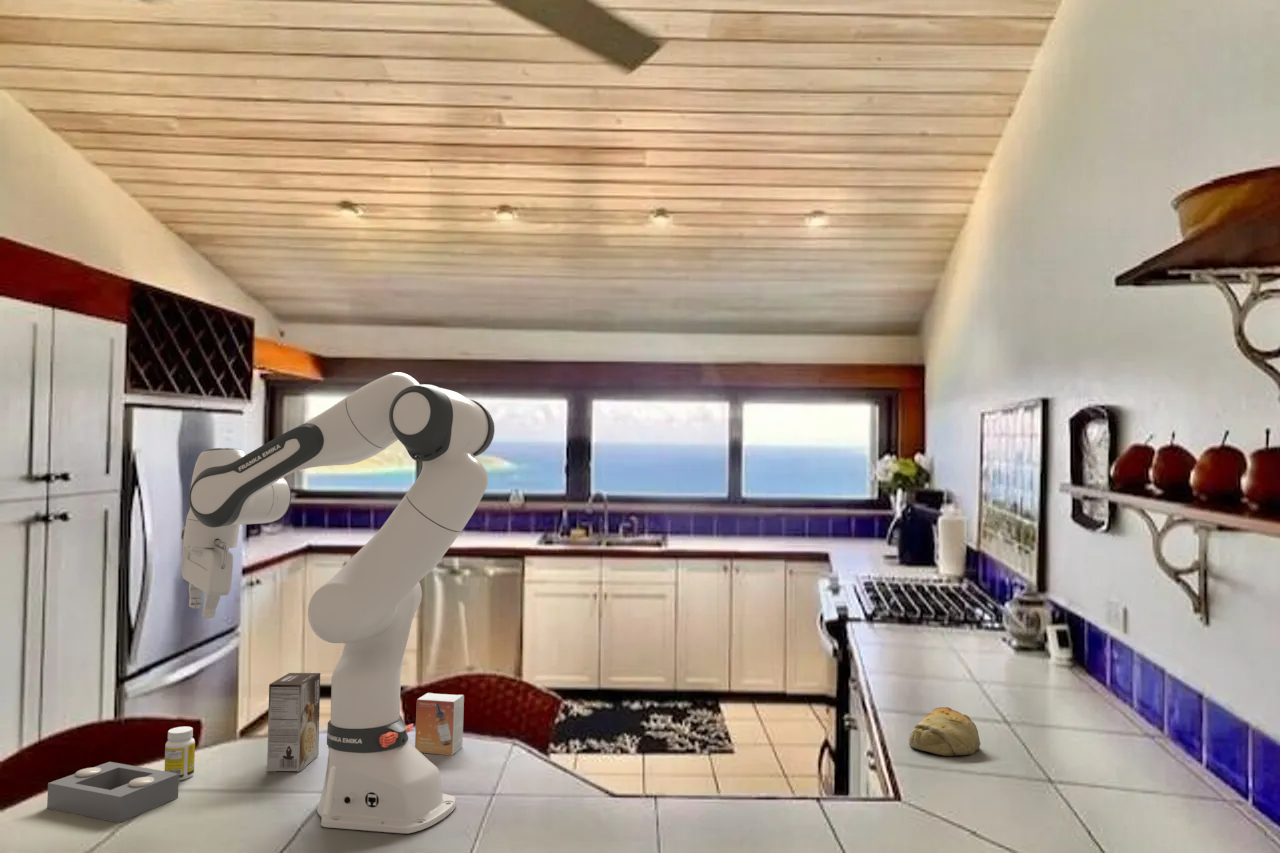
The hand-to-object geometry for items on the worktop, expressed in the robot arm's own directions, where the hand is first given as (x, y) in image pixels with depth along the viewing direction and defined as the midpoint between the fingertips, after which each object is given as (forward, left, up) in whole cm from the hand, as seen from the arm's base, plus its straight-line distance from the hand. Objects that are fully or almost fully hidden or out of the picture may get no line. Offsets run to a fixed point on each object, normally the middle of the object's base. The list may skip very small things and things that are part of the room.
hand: (201, 612), depth 157 cm
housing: (+3, +13, -30) cm, 33 cm away
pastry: (-126, -69, -30) cm, 147 cm away
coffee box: (-11, -13, -30) cm, 34 cm away
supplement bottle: (+3, 0, -30) cm, 30 cm away
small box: (-32, -30, -30) cm, 53 cm away
